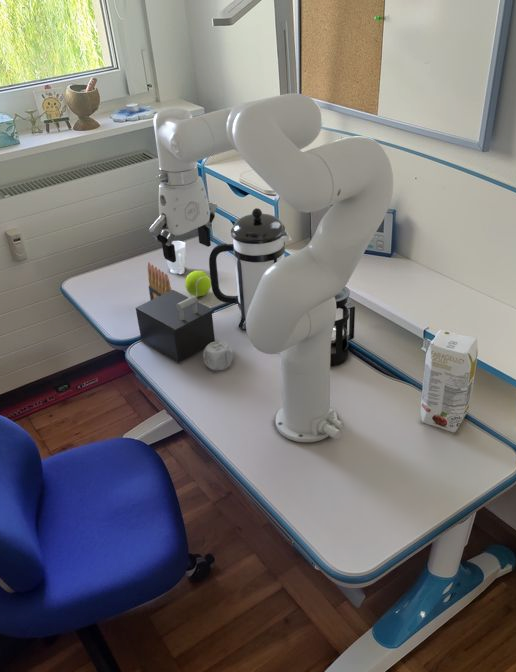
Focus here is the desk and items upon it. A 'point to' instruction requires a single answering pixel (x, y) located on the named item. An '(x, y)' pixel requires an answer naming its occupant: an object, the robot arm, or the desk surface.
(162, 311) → the lid
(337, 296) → the french press
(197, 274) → the tennis ball
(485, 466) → the desk surface
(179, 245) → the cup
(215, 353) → the die
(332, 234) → the robot arm
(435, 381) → the juice carton
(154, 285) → the ammunition clip
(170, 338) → the hinged black storage box
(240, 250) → the coffee press
